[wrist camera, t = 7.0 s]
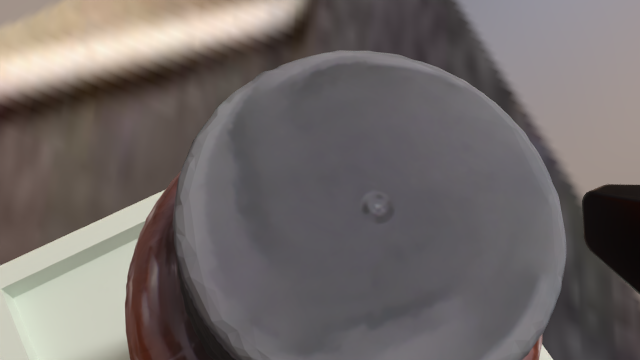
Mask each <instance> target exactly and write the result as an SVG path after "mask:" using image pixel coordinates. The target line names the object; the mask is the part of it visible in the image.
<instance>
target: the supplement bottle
mask: <svg viewBox="0 0 640 360" xmlns="http://www.w3.org/2000/svg"><path fill="white" fill-rule="evenodd" d="M565 262H566V235H565V229H564V224H563V219H562V213H561V208H560V202H559V197H558V194H557V192H556V190H555V188H554V186H553V183H552V181H551V178H550V175H549V173H548V171H547V169H546V167H545V165H544V163H543V161H542V159H541V157H540V155H539V153H538V152H537V150H536V149H535V147H534V146H533V145H532V143H531V142H530V140H529V139H528V137H527V135H526V134H525V132H524V131H523V130H522V129H521V128H520V127H519V126H518V125H517V124H516V123H515V122H514V121H513V120H512V118H511V117H510V116H509V115H508V114H507V113H506V112H504V111H503V110H502V109H501V108H500V107H499V106H498V105H497V104H496V103H495V102H493V101H492V100H491V99H489V98H488V97H487V96H486V95H485V94H483V93H482V92H480V91H479V90H477V89H476V88H474V87H473V86H471V85H470V84H469V83H467V82H466V81H464V80H462V79H460V78H458V77H456V76H454V75H452V74H450V73H448V72H446V71H444V70H442V69H440V68H438V67H435V66H432V65H429V64H426V63H423V62H420V61H416V60H412V59H409V58H406V57H404V56H401V55H397V54H389V53H379V52H372V51H339V50H338V51H334V52H329V53H322V54H318V55H314V56H309V57H305V58H302V59H299V60H296V61H293V62H290V63H287V64H284V65H281V66H279V67H278V68H276V69H274V70H272V71H264V72H262V73H261V74H259V75H257V76H256V77H255V78H254V79H253V80H252V81H251V82H249V83H248V84H246V85H245V86H243V87H242V88H240V89H238V90H237V91H235V92H234V93H233V94H232V95H231V96H230V97H229V98H227V99H226V100H225V101H224V102H223V103H222V104H221V105H220V106H218V107H217V108H216V110H215V111H214V113H213V115H212V116H211V118H210V119H209V120H208V121H207V122H206V123H205V125H204V126H203V127H202V129H201V130H200V132H199V133H198V135H197V136H196V138H195V139H194V140H193V142H192V145H191V147H190V150H189V153H188V155H187V158H186V160H185V162H184V165H183V167H182V170H181V172H180V173H179V174H178V175H177V176H176V177H175V178H174V179H173V181H172V182H171V183H170V185H169V186H168V187H167V189H166V190H165V191H164V192H163V194H162V195H161V196H160V198H159V199H158V201H157V202H156V204H155V205H154V207H153V209H152V210H151V212H150V214H149V215H148V217H147V218H146V221H145V224H144V226H143V228H142V230H141V232H140V235H139V238H138V241H137V244H136V246H135V250H134V254H133V257H132V260H131V263H130V267H129V271H128V275H127V284H126V300H125V324H126V336H127V343H128V349H129V355H130V360H539V357H540V351H541V347H542V334H543V332H544V330H545V328H546V326H547V324H548V322H549V319H550V317H551V315H552V313H553V311H554V308H555V305H556V301H557V299H558V296H559V294H560V292H561V283H562V279H563V275H564V269H565Z"/></svg>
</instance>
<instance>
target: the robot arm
mask: <svg viewBox="0 0 640 360" xmlns="http://www.w3.org/2000/svg"><path fill="white" fill-rule="evenodd" d="M582 213H583V230H584V239H585V242H586V245H587V246H588V248H589V249H590V251H591V252H592V253H593V254H594V255H596V256H597V257H598V258H599V259H600V260H601V261H602V262H604V263H605V264H606V265H607V266H608V267H609V268H610V269H611V270H613V271H614V272H615V273H616V274H617V275H618V276H619V277H621V278H622V279H623V280H624V281H625V282H626V283H627V284H629V285H630V286H631V287H632V288H633V289H634V290H635V291H636V292H638V293H639V294H640V185H613V184H611V185H610V184H609V185H603V186H601V187H598V188H596V189H594V190H591V191H589V192H587V193H586V194H585V195H584V197H583V200H582Z"/></svg>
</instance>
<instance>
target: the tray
mask: <svg viewBox="0 0 640 360" xmlns="http://www.w3.org/2000/svg"><path fill="white" fill-rule="evenodd" d="M164 191H165V190H164ZM164 191H162V192H160V193H157V194H155V195H153V196H151V197H149V198H146V199H144V200H142V201H140V202H138V203H136V204H133V205H131V206H129V207H127V208H125V209H123V210H120V211H118V212H116V213H114V214H112V215H110V216H107V217H105V218H103V219H101V220H99V221H96V222H94V223H92V224H90V225H88V226H86V227H83V228H81V229H79V230H77V231H75V232H73V233H70V234H68V235H66V236H64V237H62V238H60V239H57V240H55V241H53V242H51V243H49V244H46V245H44V246H42V247H40V248H38V249H36V250H33V251H31V252H29V253H27V254H25V255H23V256H20V257H18V258H16V259H14V260H12V261H9V262H7V263H5V264H3V265H1V266H0V360H130V355H129V349H128V343H127V336H126V324H125V300H126V284H127V275H128V271H129V267H130V263H131V260H132V257H133V254H134V250H135V246H136V244H137V241H138V238H139V235H140V232H141V230H142V228H143V226H144V224H145V221H146V218H147V217H148V215H149V214H150V212H151V210H152V209H153V207H154V205H155V204H156V202H157V201H158V199H159V198H160V196H161V195H162V194H163V192H164ZM539 360H553V359H552V358H551V356H550V355H549V354H548V352H547V351H546V349H545V348H544V347H543V345H542V347H541V351H540V357H539Z"/></svg>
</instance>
